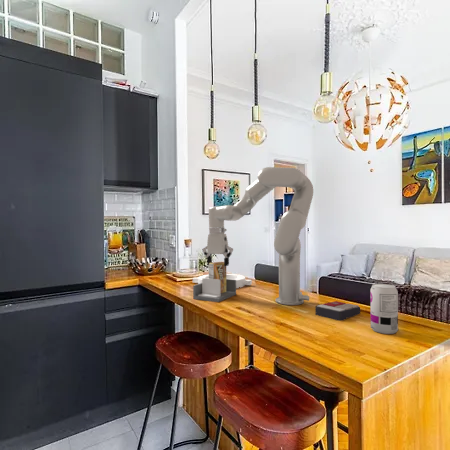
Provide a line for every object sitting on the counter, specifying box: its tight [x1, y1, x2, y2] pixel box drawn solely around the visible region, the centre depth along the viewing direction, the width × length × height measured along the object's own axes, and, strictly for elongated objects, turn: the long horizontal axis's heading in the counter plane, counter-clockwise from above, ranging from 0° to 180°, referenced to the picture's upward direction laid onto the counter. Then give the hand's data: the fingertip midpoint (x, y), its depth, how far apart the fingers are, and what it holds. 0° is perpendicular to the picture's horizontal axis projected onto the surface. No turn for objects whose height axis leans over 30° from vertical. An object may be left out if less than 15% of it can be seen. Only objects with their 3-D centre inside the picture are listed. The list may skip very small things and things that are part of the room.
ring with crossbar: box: [192, 273, 253, 289], centre depth 191 cm, size 28×28×5 cm
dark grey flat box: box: [315, 300, 361, 322], centre depth 127 cm, size 11×4×15 cm
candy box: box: [208, 261, 227, 293], centre depth 161 cm, size 9×4×15 cm, turn 135°
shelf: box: [192, 278, 237, 303], centre depth 159 cm, size 14×18×10 cm
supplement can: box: [369, 283, 399, 335], centre depth 107 cm, size 8×8×15 cm
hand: (218, 265), depth 160 cm, fingers open, 9 cm apart
